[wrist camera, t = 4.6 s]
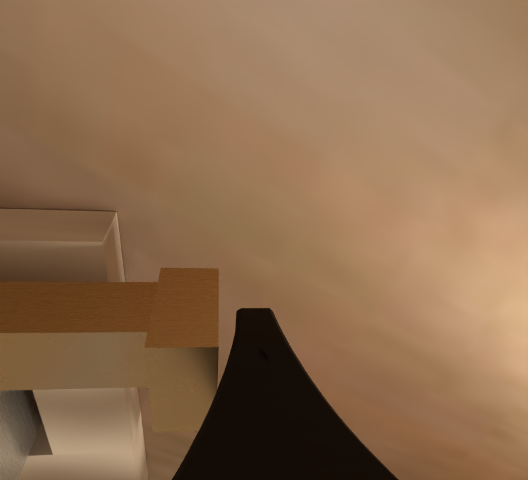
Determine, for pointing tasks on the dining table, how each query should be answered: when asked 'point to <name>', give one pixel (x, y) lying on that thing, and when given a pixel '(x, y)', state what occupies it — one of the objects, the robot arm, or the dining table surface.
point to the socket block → (75, 400)
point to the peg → (17, 430)
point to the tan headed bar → (117, 340)
